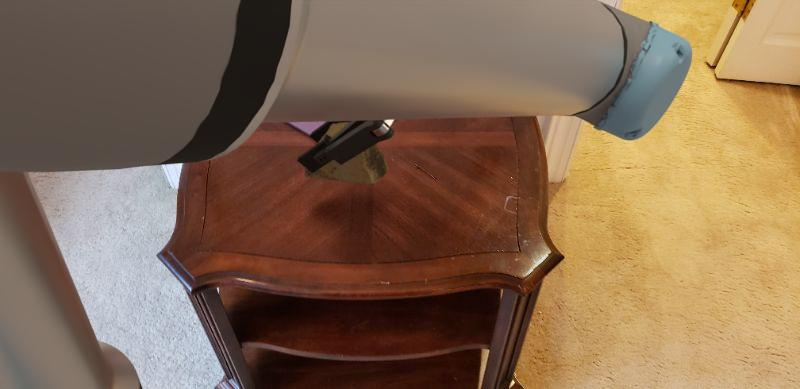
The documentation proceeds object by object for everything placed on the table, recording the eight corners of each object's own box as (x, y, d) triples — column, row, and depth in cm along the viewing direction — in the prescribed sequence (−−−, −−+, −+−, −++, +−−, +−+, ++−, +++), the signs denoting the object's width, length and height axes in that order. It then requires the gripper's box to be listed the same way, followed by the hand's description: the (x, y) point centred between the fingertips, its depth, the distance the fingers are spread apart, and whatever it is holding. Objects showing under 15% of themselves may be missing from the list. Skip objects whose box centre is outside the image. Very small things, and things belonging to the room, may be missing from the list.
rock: (281, 173, 72) (342, 193, 68) (296, 109, 72) (358, 124, 67) (330, 178, 82) (386, 195, 77) (344, 121, 81) (401, 135, 76)
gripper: (449, 138, 55) (311, 216, 70) (474, 45, 66) (351, 129, 81) (397, 87, 52) (264, 180, 66) (432, -2, 63) (312, 95, 78)
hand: (312, 152), depth 74 cm, fingers closed on rock, 4 cm apart
